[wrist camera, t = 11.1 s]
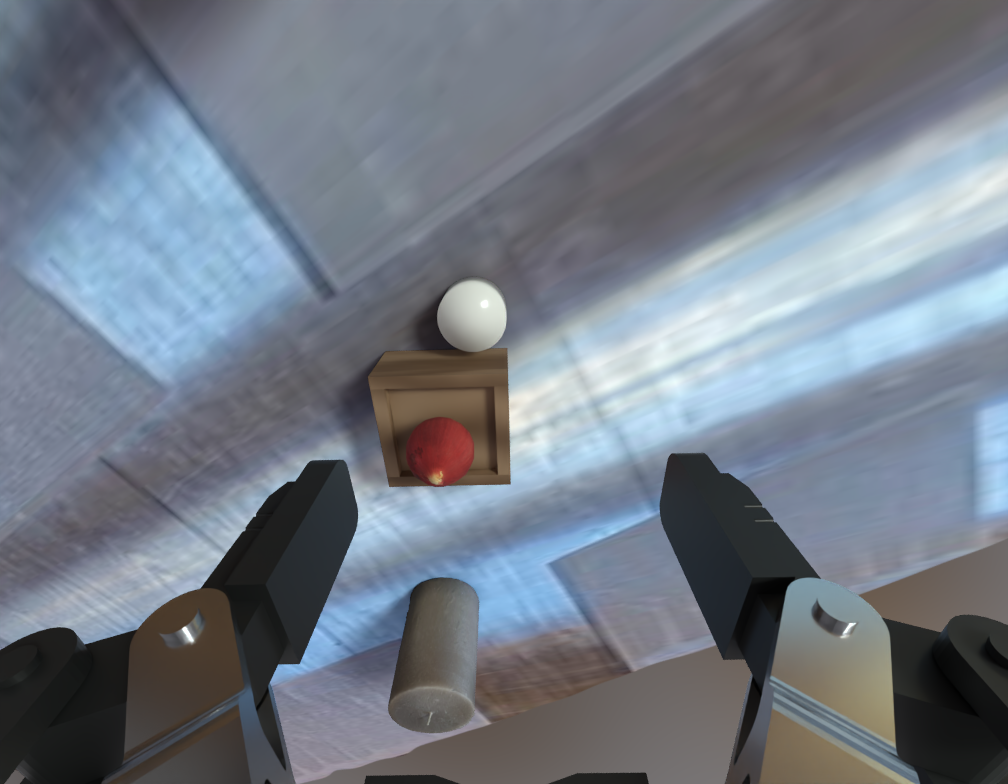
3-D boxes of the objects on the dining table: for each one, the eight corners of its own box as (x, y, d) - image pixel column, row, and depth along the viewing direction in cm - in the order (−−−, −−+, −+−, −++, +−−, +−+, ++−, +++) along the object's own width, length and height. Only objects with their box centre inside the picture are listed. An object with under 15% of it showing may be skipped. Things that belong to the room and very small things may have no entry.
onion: (429, 459, 41) (413, 518, 34) (404, 411, 38) (382, 464, 31) (485, 443, 40) (481, 501, 33) (463, 393, 38) (453, 443, 30)
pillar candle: (398, 606, 59) (369, 733, 46) (431, 566, 55) (409, 692, 42) (458, 629, 61) (447, 755, 48) (493, 592, 57) (491, 718, 44)
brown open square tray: (385, 351, 41) (367, 377, 36) (507, 348, 41) (507, 373, 36) (402, 451, 47) (389, 486, 41) (509, 449, 46) (510, 484, 41)
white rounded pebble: (439, 277, 38) (433, 285, 35) (505, 275, 38) (505, 284, 35) (445, 339, 41) (440, 352, 38) (506, 338, 41) (507, 351, 38)
